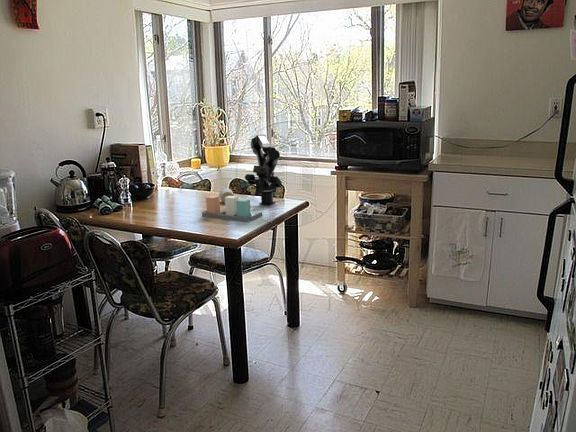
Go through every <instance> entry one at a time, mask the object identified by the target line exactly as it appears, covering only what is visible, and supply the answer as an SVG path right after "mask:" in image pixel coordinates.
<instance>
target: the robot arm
mask: <svg viewBox="0 0 576 432" xmlns="http://www.w3.org/2000/svg"><path fill="white" fill-rule="evenodd" d="M250 149H251V151H252V153H253V154H255V155H256V159H257V163H258V165H253V170H252V172H253V173H255V175H256V176H255V175H254V174H253V173H246V174H245V176H244V179H245V181H246V182H247V183H248V184H249V185H251V186H252V185H253V186H255V196H259V195H260V196H261V197H260V199H261V200H260V201H261V202H259V205H262V206H271V205H274V204H275V203H277V202H276V201H274V193H276V192H277V188H281V187H282V183H283V182H282V181H281V179H280V178H279V176H275V172H274V171H275V169H276V167H277V165H278V162H279V159H280V157H281V153H280V152H279V150H278V148H277V147H276V145H274V144H273V143H271V142H269V140H268V138H267V134H264V133H262V134H255V136H254V137H253V138H251V140H250Z"/></svg>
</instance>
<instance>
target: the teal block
mask: <svg viewBox="0 0 576 432" xmlns="http://www.w3.org/2000/svg"><path fill="white" fill-rule="evenodd" d="M238 199H239V200H236V208H237V217H245V218H248V220H249V217H251V216H252V214H251V211H252V210H251V200H250V199H248V198H238Z"/></svg>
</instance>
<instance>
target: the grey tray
mask: <svg viewBox="0 0 576 432" xmlns="http://www.w3.org/2000/svg"><path fill="white" fill-rule="evenodd" d="M263 215H264V214H263V212H262V211H261V212H259V213H256V214H254V215H251V217H249V219H248V218H245V217H237V214H235V215H233V216H229V215H226V210H223V211H220V213H218V214H214V213H207V209H205V210H203V211H202V212H201V217H207V218H213V219H214V218H215V219H222V220H228V221H229V220H230V221H235V222H236V221H237V222H238V221H239V222H245V223H248V222H249V221H250V222H252V221H254V220H256V219H258V218H261V217H264V216H263Z"/></svg>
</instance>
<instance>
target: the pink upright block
mask: <svg viewBox="0 0 576 432" xmlns="http://www.w3.org/2000/svg"><path fill="white" fill-rule="evenodd" d="M220 202H221V199H220V197H219V195H208V196H205V203H206V210H207V213H214V214H218V213H220V212H221V203H220Z"/></svg>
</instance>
